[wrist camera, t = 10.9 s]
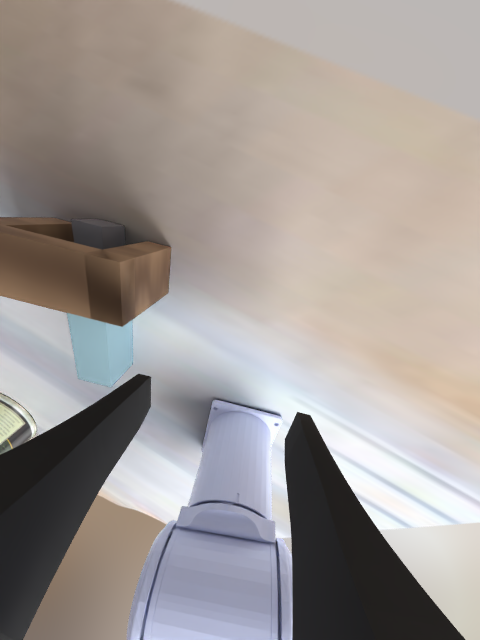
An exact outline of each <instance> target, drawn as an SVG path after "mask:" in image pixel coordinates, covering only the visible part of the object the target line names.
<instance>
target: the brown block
mask: <svg viewBox="0 0 480 640" xmlns="http://www.w3.org/2000/svg"><path fill="white" fill-rule="evenodd" d="M170 259H171V247H169V246H165V245H161V244H157V243H152V242H148V241H146V242H141V243H135V244H130V245H125V246H119V247H114V248H109V249H103V250H101V249H97V248H93V247H89V246H86V245H82V244H78V243H74V238H73V231H72V223H71V222H68V221H64V220H60V219H56V218H22V217H0V296H3V297H7V298H11V299H15V300H19V301H23V302H27V303H31V304H35V305H39V306H42V307H46V308H50V309H54V310H58V311H62V312H66V313H70V314H74V315H78V316H81V317H85V318H89V319H93V320H97V321H101V322H105V323H109V324H113V325H117V326H121V327H123V326H124V325H126V324H127V323H128V322H130V321H131V320H132V319H134V318H135V317H137V316H138V315H139V314H141V313H142V312H143V311H145V310H146V309H147V308H149V307H150V306H151V305H153V304H154V303H155V302H157V301H158V300H160V299H161V298H162V297H164V296H165V295H166V294H168V289H169V274H170Z"/></svg>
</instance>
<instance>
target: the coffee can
mask: <svg viewBox="0 0 480 640" xmlns="http://www.w3.org/2000/svg"><path fill="white" fill-rule="evenodd" d="M36 430H37V427H36V424H35V421H34V420H33V418H32V417H31V415H30V414H29V413H28V412H27V411H26V410H25V409H24V408H23V407H22V406H21V405H19V404H18V403H16V402H15V401H14V400H12V399H10V398H9V397H7V396H4V395H2V394H0V454H3V453H5V452H7V451H9V450H11V449H13V448H15V447H17V446H19V445H21V444H23V443H25V442H27V441H29V440H30V439H31V438H33V437H34V436H35V434H36Z"/></svg>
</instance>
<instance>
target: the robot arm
mask: <svg viewBox="0 0 480 640" xmlns="http://www.w3.org/2000/svg"><path fill="white" fill-rule="evenodd" d="M150 407H151V377H149V376H145V375H141V374H138V375H136V376H135V377H133V378H132V379H130V380H129V381H127V382H126V383H124V384H123V385H121V386H120V387H118V388H117V389H115V390H114V391H112V392H111V393H109V394H108V395H106V396H105V397H103V398H102V399H100V400H99V401H97V402H96V403H94V404H93V405H91V406H89V407H88V408H86V409H85V410H83V411H81V412H80V413H78V414H76V415H75V416H73V417H71V418H70V419H68V420H66V421H64V422H63V423H61V424H59V425H57V426H56V427H54V428H52V429H50V430H48V431H46V432H45V433H43V434H41V435H39V436H37V437H35V438H33V439H31V440H29V441H27V442H25V443H23V444H21V445H19V446H17V447H15V448H13V449H11V450H9V451H7V452H5V453H3V454H0V640H23V638H24V636H25V634H26V632H27V630H28V628H29V626H30V624H31V622H32V619H33V618H34V615H35V614H36V611H37V609H38V607H39V605H40V603H41V601H42V599H43V597H44V595H45V593H46V591H47V589H48V587H49V585H50V583H51V581H52V579H53V577H54V575H55V573H56V571H57V569H58V567H59V565H60V563H61V561H62V559H63V558H64V556H65V553H66V552H67V550H68V548H69V546H70V544H71V542H72V540H73V538H74V536H75V534H76V533H77V531H78V529H79V527H80V525H81V523H82V521H83V519H84V518H85V516H86V514H87V512H88V510H89V508H90V506H91V505H92V503H93V501H94V499H95V498H96V496H97V494H98V492H99V490H100V489H101V487H102V485H103V484H104V482H105V480H106V479H107V477H108V476H109V474H110V473H111V471H112V469H113V468H114V466H115V465H116V463H117V462H118V460H119V459H120V457H121V456H122V454H123V453H124V451H125V450H126V448H127V447H128V445H129V444H130V442H131V441H132V439H133V437H134V436H135V434H136V433H137V431H138V430H139V428H140V426H141V424H142V423H143V421H144V419H145V417H146V415H147V413H148V411H149V409H150ZM216 407H217V408H216ZM281 424H282V417H280V416H277V415H274V414H270V413H266V412H262V411H258V410H254V409H250V408H247V407H243V406H239V405H235V404H231V403H227V402H223V401H220V400H214V401H213V402H212V406H211V410H210V415H209V419H208V424H207V428H206V433H205V437H204V442H203V446H202V452H203V454H202V458H201V461H200V465H199V468H198V472H197V475H196V479H195V483H194V486H193V490H192V493H191V497H190V500H189V504H188V507H185V506H182V507H181V511H180V514H179V517H178V521H174V520H173V521H170V522H169V523H168V524H167V525H166V526H165V528H164V529H163V530H162V531H161V532H160V533H159V534H158V536H157V537H156V539H155V541H154V542H153V544H152V547H151V549H150V551H149V553H148V556H147V558H146V561H145V563H144V566H143V569H142V572H141V575H140V578H139V581H138V584H137V588H136V591H135V595H134V599H133V602H132V607H131V611H130V616H129V622H128V629H127V640H465V639H464V637H463V636H462V635H461V634H460V633H459V632H458V631H457V629H456V628H455V627H454V626H453V625H452V623H451V622H450V621H449V620H448V619H447V617H446V616H445V615H444V614H443V613H442V611H441V610H440V609H439V608H438V606H437V605H436V604H435V603H434V602H433V600H432V599H431V598H430V597H429V595H427V593H426V592H425V591H424V589H423V588H422V587H421V586H420V584H419V583H418V582H417V580H416V579H415V578H414V577H413V575H412V574H411V573H410V571H409V570H408V569H407V568H406V566H405V565H404V564H403V562H402V561H401V560H400V558H399V557H398V556H397V554H396V553H395V552H394V551H393V549H392V548H391V547H390V545H389V544H388V543H387V541H386V540H385V539H384V537H383V536H382V534H381V533H380V531H379V530H378V529H377V527H376V526H375V524H374V523H373V521H372V520H371V519H370V517H369V516H368V514H367V513H366V511H365V510H364V508H363V507H362V505H361V504H360V502H359V501H358V499H357V497H356V496H355V494H354V493H353V491H352V489H351V488H350V486H349V485H348V483H347V481H346V480H345V478H344V476H343V475H342V473H341V471H340V469H339V468H338V466H337V464H336V462H335V461H334V459H333V457H332V455H331V454H330V452H329V450H328V448H327V446H326V444H325V442H324V441H323V439H322V437H321V435H320V433H319V431H318V429H317V427H316V425H315V423H314V421H313V419H312V418H311V416H310V415H307V414H303V413H299V412H297V414H296V416H295V419H294V421H293V423H292V425H291V427H290V429H289V432H288V434H287V436H286V438H285V471H286V482H287V492H288V502H289V512H290V522H291V537H292V554H291V552H290V550H289V549H288V547H287V546H286V544H285V541H284V540H283V539H281V538H276V540H275V522H274V521H272V486H271V445H272V443H273V441H274V439H275V437H276V435H277V433H278V430H279V428H280V426H281Z"/></svg>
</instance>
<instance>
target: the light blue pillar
mask: <svg viewBox="0 0 480 640" xmlns="http://www.w3.org/2000/svg"><path fill="white" fill-rule="evenodd" d="M71 223H72V231H73V238H74V243H78V244H82V245H86V246H89V247H93V248H97V249H101V250H103V249H109V248H114V247H119V246H125V226H124V225H120V224H116V223H112V222H108V221H104V220H100V219H71ZM67 316H68V322H69V328H70V334H71V340H72V345H73V351H74V357H75V363H76V369H77V375H78V379H81V380H84V381H88V382H92V383H96V384H100V385H104V386H107V387H112V386H113V385H114V384H115V382H116V381H117V380H118V379H119V378H120V377H121V376H122V375H123V374H124V373H125V372H126V371H127V370H128V369H129V368H130V366H131V365H132V364H133V335H132V320H131V321H130V322H128V323H127V324H126V325H124V326H123V327H121V326H117V325H113V324H109V323H105V322H101V321H97V320H93V319H89V318H85V317H81V316H78V315H74V314H70V313H67Z"/></svg>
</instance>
